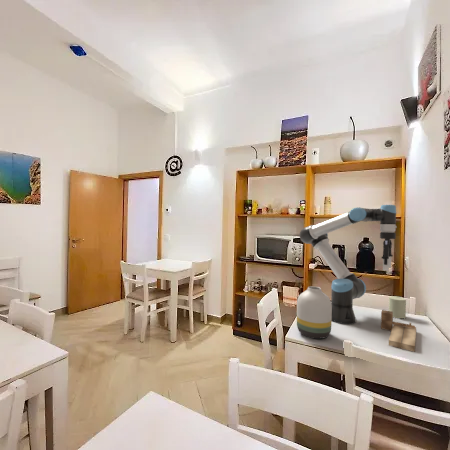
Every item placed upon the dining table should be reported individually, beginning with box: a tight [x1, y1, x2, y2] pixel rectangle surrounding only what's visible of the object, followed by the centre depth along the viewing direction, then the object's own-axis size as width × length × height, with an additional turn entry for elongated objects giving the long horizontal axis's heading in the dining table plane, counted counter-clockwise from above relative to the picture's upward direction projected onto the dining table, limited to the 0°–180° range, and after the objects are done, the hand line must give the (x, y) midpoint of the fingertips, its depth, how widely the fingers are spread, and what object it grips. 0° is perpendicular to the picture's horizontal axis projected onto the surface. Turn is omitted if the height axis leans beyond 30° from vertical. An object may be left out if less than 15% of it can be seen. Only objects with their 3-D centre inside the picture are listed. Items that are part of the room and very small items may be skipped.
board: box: [388, 324, 417, 352], centre depth 132 cm, size 10×28×3 cm, turn 143°
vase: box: [296, 285, 333, 340], centre depth 135 cm, size 17×17×24 cm
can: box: [388, 295, 407, 319], centre depth 164 cm, size 9×9×12 cm
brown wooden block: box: [380, 309, 416, 331], centre depth 142 cm, size 15×5×9 cm, turn 53°
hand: (387, 269), depth 150 cm, fingers open, 13 cm apart
